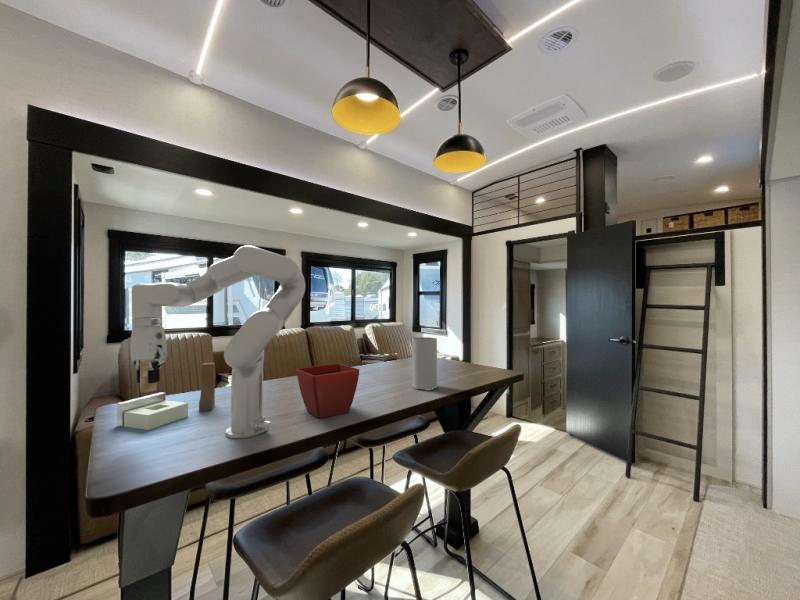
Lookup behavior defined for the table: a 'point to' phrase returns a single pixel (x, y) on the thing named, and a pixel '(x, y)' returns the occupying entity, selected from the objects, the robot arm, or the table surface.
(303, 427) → the table surface
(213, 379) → the wooden block
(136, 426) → the socket block
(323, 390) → the plant pot
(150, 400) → the backstop board
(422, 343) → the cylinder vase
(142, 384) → the wooden dowel
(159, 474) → the table surface
